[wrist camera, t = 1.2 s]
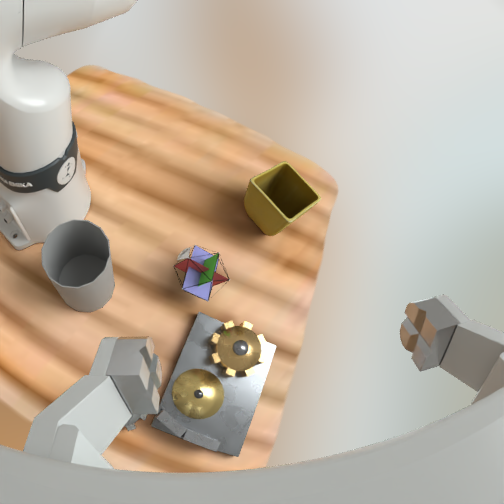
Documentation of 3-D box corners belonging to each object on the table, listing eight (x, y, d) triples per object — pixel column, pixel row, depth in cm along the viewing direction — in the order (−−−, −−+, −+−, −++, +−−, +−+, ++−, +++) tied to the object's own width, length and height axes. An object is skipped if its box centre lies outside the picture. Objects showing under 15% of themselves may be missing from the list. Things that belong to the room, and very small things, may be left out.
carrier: (150, 425, 33) (152, 428, 30) (197, 313, 42) (202, 306, 39) (235, 455, 35) (244, 460, 32) (272, 347, 44) (283, 342, 41)
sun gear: (197, 365, 39) (203, 362, 36) (217, 317, 43) (224, 309, 40) (247, 386, 40) (258, 384, 37) (264, 338, 44) (275, 332, 41)
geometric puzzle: (239, 265, 46) (220, 234, 39) (230, 309, 42) (207, 282, 36) (196, 265, 48) (172, 236, 42) (185, 305, 44) (157, 280, 38)
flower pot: (265, 250, 51) (289, 222, 44) (231, 211, 52) (249, 178, 44) (297, 225, 56) (322, 198, 48) (265, 191, 57) (285, 159, 49)
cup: (48, 292, 36) (28, 263, 27) (78, 246, 40) (67, 208, 32) (97, 323, 37) (86, 302, 28) (125, 273, 41) (124, 240, 33)
